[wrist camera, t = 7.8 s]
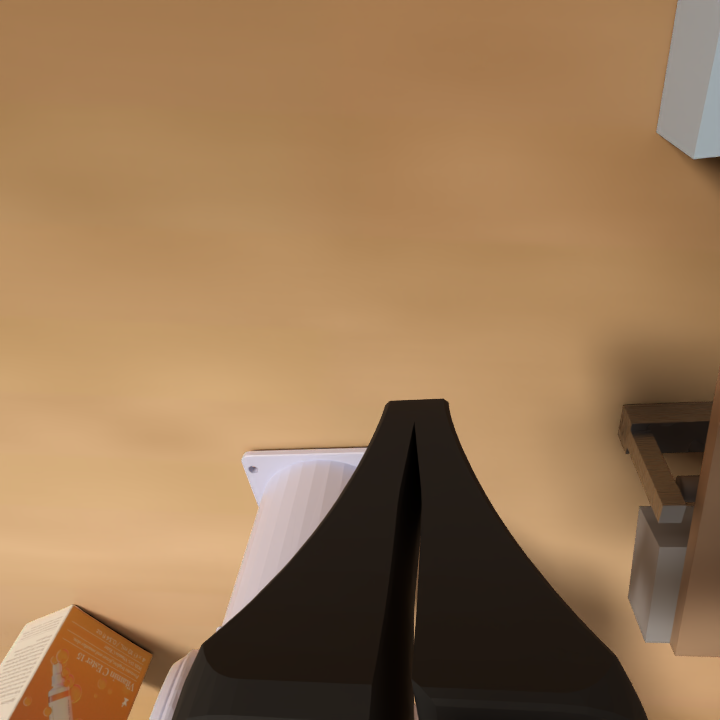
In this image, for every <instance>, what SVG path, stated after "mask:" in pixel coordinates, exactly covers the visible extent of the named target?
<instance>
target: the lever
mask: <svg viewBox="0 0 720 720" xmlns="http://www.w3.org/2000/svg"><path fill="white" fill-rule="evenodd" d="M675 482H676V484H677V486H678V488H679V491H680V493H681V495H682V497H683V499H684V501H685V502H695V505H694V506H686V509H685V513H684V516H683V519H682V522H681V523H658V521H657V519H656V516H655V514H654V511H653V509H652V507H651V506H639V514H638V522H637V530H636V538H635V546H634V553H633V561H632V569H631V577H630V585H629V593H628V599H629V601H630V604H631V607H632V609H633V612H634V614H635V617H636V620H637V622H638V625H639V627H640V630H641V633H642V635H643V638H644V641H645V642H647V643H670V645H671V647H672V650H673V652H674V654H675V656H698V657H720V367H719V372H718V378H717V383H716V389H715V395H714V400H713V406H712V411H711V417H710V422H709V428H708V433H707V439H706V444H705V450H704V456H703V461H702V467H701V472H700V475H697V476H677V477H676V480H675Z"/></svg>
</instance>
